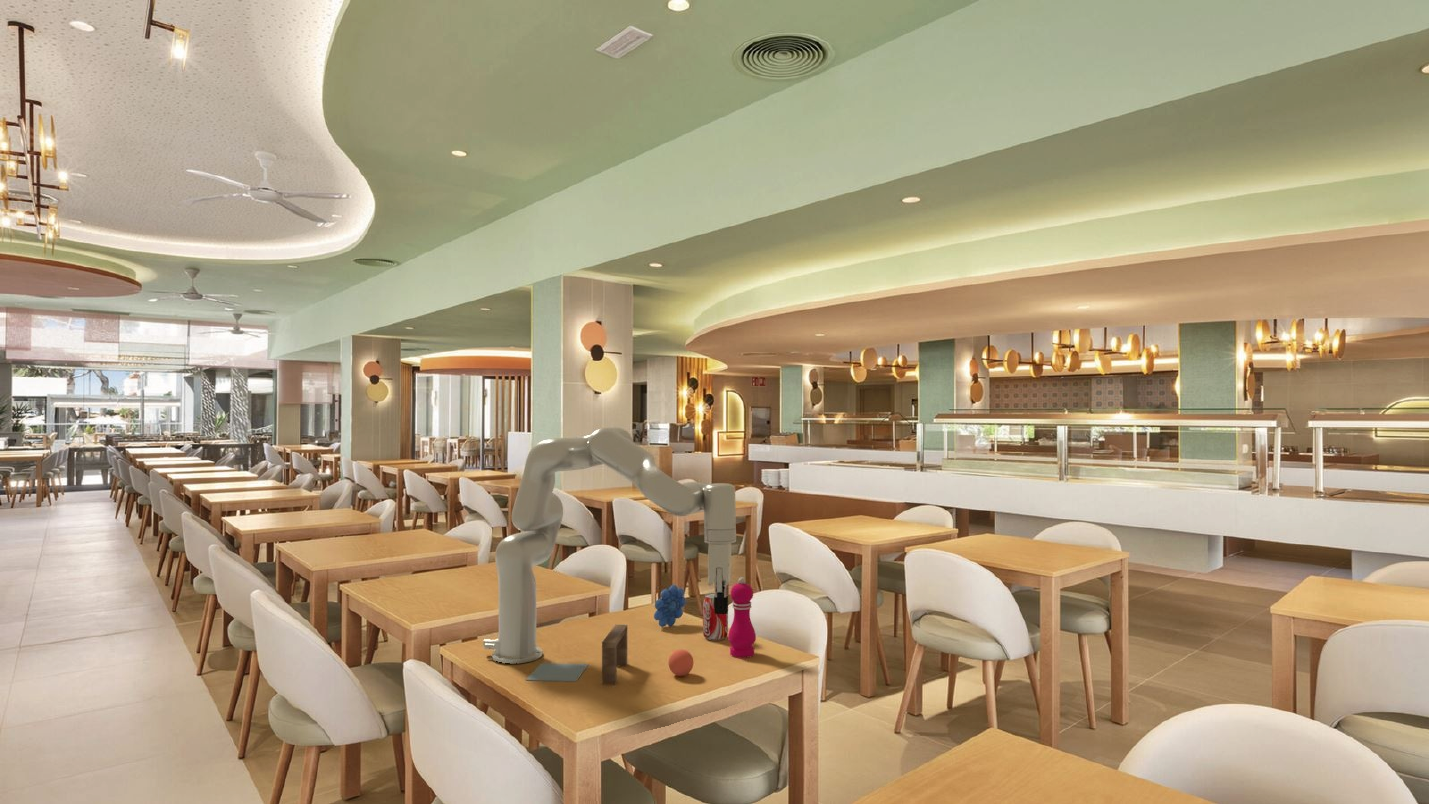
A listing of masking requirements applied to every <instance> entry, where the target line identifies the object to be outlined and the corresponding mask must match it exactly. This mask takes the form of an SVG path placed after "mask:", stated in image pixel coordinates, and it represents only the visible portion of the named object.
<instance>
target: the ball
mask: <svg viewBox="0 0 1429 804" xmlns="http://www.w3.org/2000/svg"><path fill="white" fill-rule="evenodd" d="M668 667H669V670H670V672H671V673H672V674H674V675H675V676H678V677H684V676H686V675H689V673H690V672H691V671H692V669H693V667H694V658H693V656H692V654H691V652H689V651H688V650H686V649H677V650H675V651H673V652H672V653H671V654H670V656H669V658H668Z"/></svg>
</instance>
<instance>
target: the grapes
mask: <svg viewBox="0 0 1429 804" xmlns="http://www.w3.org/2000/svg"><path fill="white" fill-rule="evenodd" d="M684 596H685V590H684V589H683V588H682V587H680V588H679V587H678V585H676V584H672V585H670V587H669V588H664V589H662V591H661V592H660V598H658V599H657V600H656V601H655V603H654V608H655V609H656V611H655V612H654V614H653V617H654V620H655V621H658V625H659V627H661V628H663V627H664V628H665V627H666V626H668V627H672V626H674V625H675V623H676V621H677V619H680V618H682V616H683V614H684V610H683V608H684V607H685V606H686V603H687V599H686V597H684Z"/></svg>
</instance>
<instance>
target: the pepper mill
mask: <svg viewBox="0 0 1429 804" xmlns="http://www.w3.org/2000/svg"><path fill="white" fill-rule="evenodd" d="M737 582H738V583H736V584H734V585H732V587H731V589H730V592H729V593H730V594H729V595H730V598H731V599H732V600H733V601H732V609H733V612H734V613H733V620H732V623H731V625H730V627H729V629H728V634H727V639H728V641H729V643H730V645H731V646H730V647H729V653H730V656H731V655H732V656H731V657H733V656H734V657H733V658H737V657H741V658H740V659H744V658H743V657H748V658H751V657H753V656H755V647H754V646H753V645H754V644H755V642H756V640H757V637H756V631H755V627H754V626H753V623H752V620H751V608H752V602H751V600H752V599H753V598H754V590H753V588H752V585H750V584H748V583H746V578H744V577H739V578H738V581H737ZM750 656H751V657H750Z"/></svg>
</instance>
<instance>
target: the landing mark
mask: <svg viewBox="0 0 1429 804" xmlns="http://www.w3.org/2000/svg"><path fill="white" fill-rule="evenodd" d="M588 667H589V663H565V662H564V663H561V662H559V663H557V662H556V663H555V662H541V663H540V664H539V665H538V666H537V667H536V668H535V669H534V671H532V672H531V674H530V675H529V676H528V677H527V678H526V679H525V681H529V680H530V681H531V680H532V681H534V682H535V681H537V682H542V681H543V682H575V683H576V682H577V681H578V680H579V678H580V677H581V675H582V674H583V673H584V672H585V671H586V669H587V668H588ZM530 681H529V682H530Z"/></svg>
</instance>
